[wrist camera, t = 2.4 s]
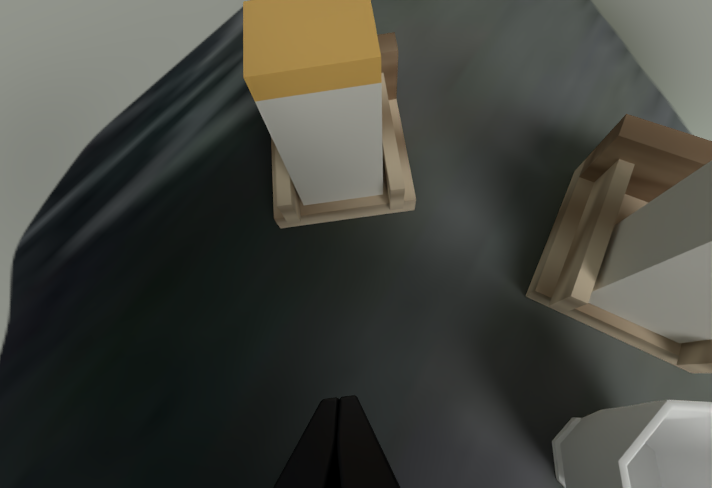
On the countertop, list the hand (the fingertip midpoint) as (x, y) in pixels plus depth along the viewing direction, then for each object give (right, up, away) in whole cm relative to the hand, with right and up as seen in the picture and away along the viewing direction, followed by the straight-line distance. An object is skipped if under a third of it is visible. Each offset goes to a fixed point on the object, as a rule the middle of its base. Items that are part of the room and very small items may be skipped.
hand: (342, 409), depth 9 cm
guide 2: (+16, +3, +13) cm, 21 cm away
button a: (-1, +9, +14) cm, 17 cm away
